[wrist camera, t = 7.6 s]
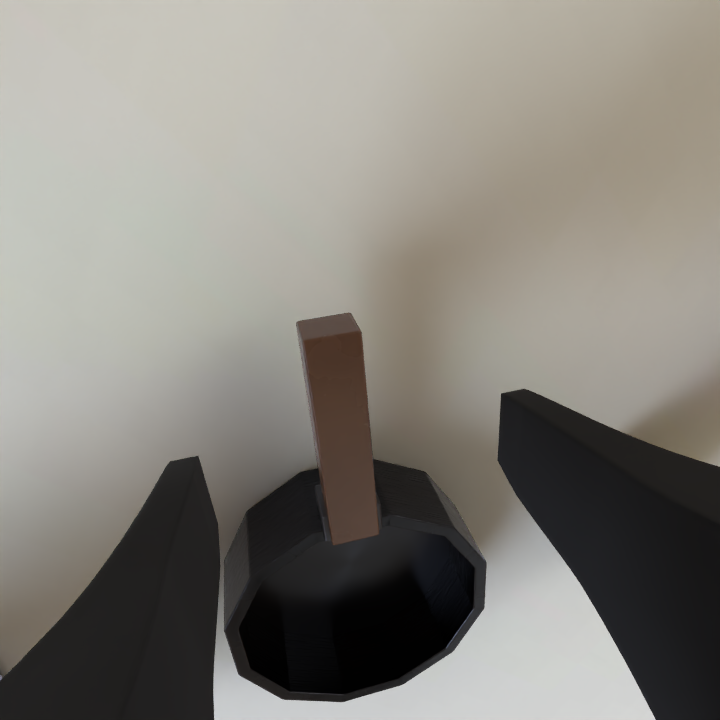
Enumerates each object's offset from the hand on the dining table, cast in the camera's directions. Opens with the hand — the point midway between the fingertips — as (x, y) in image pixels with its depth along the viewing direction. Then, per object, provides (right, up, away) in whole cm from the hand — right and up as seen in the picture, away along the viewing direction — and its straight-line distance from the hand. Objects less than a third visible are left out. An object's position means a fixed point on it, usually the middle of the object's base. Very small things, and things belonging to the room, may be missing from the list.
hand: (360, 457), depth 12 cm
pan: (-1, -3, +9) cm, 9 cm away
